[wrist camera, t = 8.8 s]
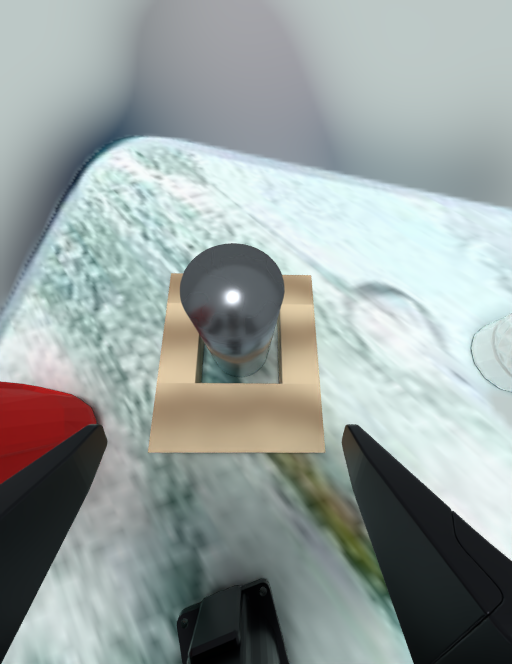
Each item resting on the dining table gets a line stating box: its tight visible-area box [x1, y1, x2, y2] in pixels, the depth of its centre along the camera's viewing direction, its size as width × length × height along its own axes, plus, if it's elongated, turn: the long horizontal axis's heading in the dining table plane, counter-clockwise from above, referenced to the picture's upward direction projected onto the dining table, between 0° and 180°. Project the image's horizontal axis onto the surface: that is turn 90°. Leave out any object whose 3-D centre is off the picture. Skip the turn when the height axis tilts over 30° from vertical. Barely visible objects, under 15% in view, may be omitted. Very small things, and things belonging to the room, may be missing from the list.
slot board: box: [148, 273, 325, 453], centre depth 22 cm, size 15×13×2 cm
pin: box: [180, 243, 285, 377], centre depth 17 cm, size 5×5×12 cm
